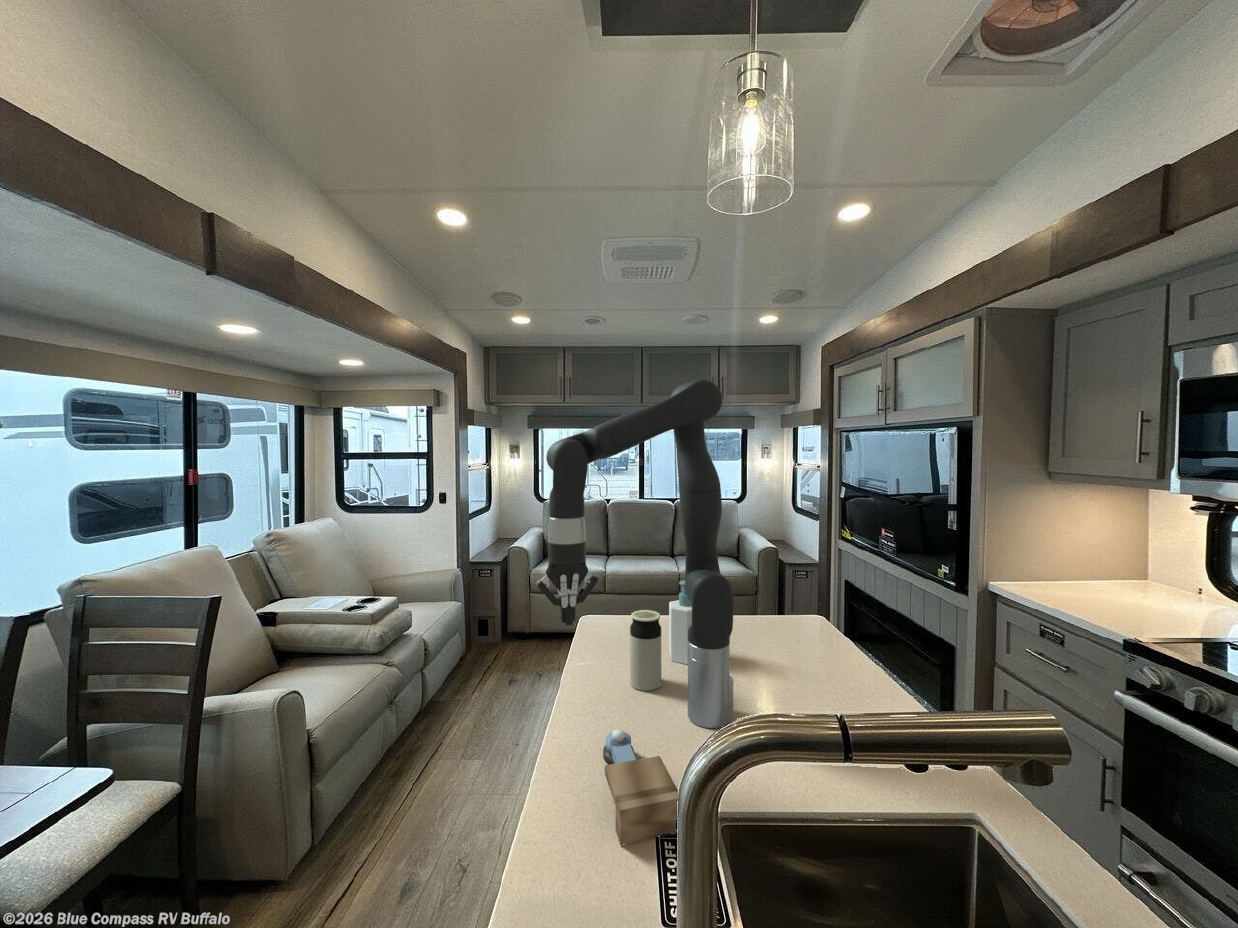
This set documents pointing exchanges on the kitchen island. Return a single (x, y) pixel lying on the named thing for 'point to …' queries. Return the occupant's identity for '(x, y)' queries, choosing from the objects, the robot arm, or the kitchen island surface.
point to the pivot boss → (608, 757)
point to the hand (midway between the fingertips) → (567, 623)
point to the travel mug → (645, 650)
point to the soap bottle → (679, 626)
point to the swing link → (619, 746)
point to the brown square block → (642, 799)
